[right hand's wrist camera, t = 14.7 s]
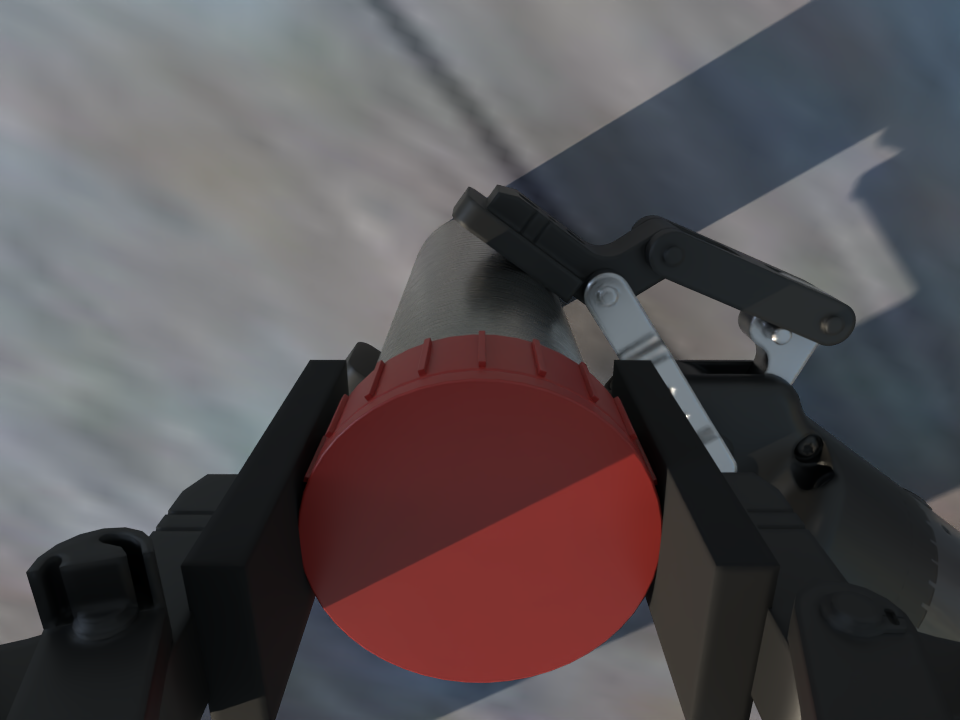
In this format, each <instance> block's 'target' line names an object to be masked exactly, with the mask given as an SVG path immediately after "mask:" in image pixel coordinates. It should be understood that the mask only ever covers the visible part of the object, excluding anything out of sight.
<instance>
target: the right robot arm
mask: <svg viewBox="0 0 960 720" xmlns="http://www.w3.org/2000/svg"><path fill="white" fill-rule="evenodd" d="M344 394H346V395H348V396H349V387H348V374H347V362H346V360H310V361H309V363H308V364H307V366H306V367H305V369H304V371H303V372H302V374H301V375H300V377H299V378H298V380H297V382H296V383H295V385H294V386H293V388H292V390H291V391H290V393H289V394H288V396H287V398H286V399H285V401H284V402H283V404H282V405H281V407H280V409H279V410H278V412H277V413H276V415H275V417H274V418H273V420H272V421H271V423H270V424H269V426H268V428H267V429H266V431H265V432H264V434H263V436H262V437H261V439H260V440H259V442H258V444H257V445H256V447H255V448H254V450H253V451H252V453H251V455H250V456H249V458H248V459H247V461H246V463H245V464H244V466H243V467H242V469H241V471H240V472H239V474H207V475H206V476H204V477H203V478H201V479H200V480H198V481H197V482H196V483H194V484H193V485H191V486H190V487H188V488H187V489H185V490H184V491H183V492H182V493H181V494H180V496H179V497H178V498H177V500H176V501H175V502H174V504H173V505H172V506H171V508H170V509H169V510H168V515H165V516H164V517H163V519H162V520H161V521H160V523H159V524H158V525H157V527H156V531H153V532H152V533H151V535H150V536H147V535H146V534H145V533H144V532H143V531H139V530H135V529H130V528H126V527H124V528H104V529H100V530H96V531H92V532H88V533H84V534H80V535H77V536H75V537H73V538H71V539H68V540H66V541H64V542H62V543H59V544H57V545H56V546H54V547H53V548H51V549H50V550H48V551H47V552H46V553H44V554H43V555H41V556H40V557H38V558H37V560H36V561H35V562H34V563H33V565H32V566H31V567H30V568H29V569H28V571H27V572H26V574H27V577H28V580H29V583H30V587H31V590H32V593H33V596H34V600H35V603H36V606H37V609H38V613H39V616H40V619H41V622H42V625H43V629H44V630H43V633H42V635H39V636H36V637H32V638H29V639H25V640H20V641H16V642H11V643H7V644H3V645H0V720H200V719H201V717H202V715H203V713H204V710H205V708H206V706H207V704H208V705H209V709H210V714H211V719H212V720H275V719H276V716H277V712H278V709H279V706H280V703H281V700H282V697H283V694H284V691H285V688H286V685H287V682H288V679H289V676H290V672H291V669H292V666H293V663H294V660H295V657H296V654H297V651H298V648H299V645H300V642H301V639H302V636H303V633H304V629H305V626H306V623H307V620H308V617H309V614H310V611H311V608H312V605H313V602H314V599H315V594H314V592H313V591H312V589H311V586H310V584H309V581H308V579H307V577H306V574H305V572H304V568H303V561H302V554H301V545H300V537H299V527H298V516H299V509H300V504H301V500H302V495H303V491H304V489H305V486H306V484H307V483H306V482H303V480H304V477H305V475H306V472H307V470H308V468H309V466H310V464H311V461H312V459H313V457H314V455H315V453H316V450H317V448H318V446H319V444H320V442H321V439H322V437H323V436H325V434H326V432H327V429H328V427H329V425H330V423H331V421H332V418H333V416H334V414H335V412H336V409H337V407H338V405H339V403H340V401H341V398H342V397H343V395H344ZM617 396H618V397H619V399H620V400H621V402H622V404H623V407H624V409H625V411H626V413H627V415H628V418H629V420H630V422H631V424H632V426H633V429H634V431H635V433H636V435H637V438H638V439H639V441H640V443H641V445H642V448H643V450H644V452H645V454H646V456H647V459H648V461H649V463H650V465H651V467H652V470H653V472H654V474H655V476H656V478H657V482H658V485H655V487H656V490H657V493H658V496H659V500H660V506H661V511H662V517H663V523H662V534H661V543H660V551H659V559H658V566H657V570H656V573H655V576H654V579H653V581H652V583H651V585H650V587H649V589H648V592H647V594H646V596H645V597H646V600H647V603H648V606H649V609H650V612H651V615H652V618H653V621H654V624H655V627H656V630H657V633H658V637H659V640H660V643H661V646H662V649H663V652H664V655H665V658H666V661H667V664H668V667H669V670H670V673H671V677H672V680H673V683H674V686H675V689H676V692H677V695H678V698H679V701H680V704H681V707H682V710H683V713H684V716H685V720H749V718H750V713H751V708H752V703H753V701H754V703H755V705H756V707H757V710H758V712H759V714H760V716H761V719H762V720H960V642H957V641H953V640H949V639H944V638H940V637H935V636H932V635H928V634H925V633H921V632H918V631H917V629H916V627H915V626H914V625H913V623H912V622H911V620H910V619H909V617H908V616H907V614H906V613H905V612H904V611H902V610H901V609H900V608H899V607H897V606H896V605H895V604H894V603H892V602H891V601H890V600H889V599H887V598H885V597H883V596H881V595H879V594H877V593H875V592H873V591H871V590H869V589H867V588H864V587H861V586H857V585H854V584H850V583H848V582H847V580H846V579H845V578H844V576H843V575H842V574H841V572H840V571H839V570H838V568H837V567H836V565H835V564H834V563H833V561H832V560H831V559H830V557H829V556H828V555H827V553H826V552H825V551H824V549H823V548H822V547H821V545H820V544H819V543H818V541H817V540H816V539H815V537H814V536H813V535H812V533H811V532H810V531H809V529H805V524H804V523H803V521H802V520H801V519H800V517H799V516H798V515H797V513H796V512H793V508H792V507H791V505H790V504H789V503H788V501H787V500H786V499H785V497H784V496H783V495H782V493H781V492H780V491H779V489H778V488H776V487H775V486H773V485H772V484H770V483H769V482H767V481H766V480H764V479H763V478H761V477H760V476H758V475H757V474H755V473H754V472H721V471H720V469H719V468H718V466H717V465H716V463H715V461H714V460H713V458H712V457H711V455H710V453H709V452H708V450H707V449H706V447H705V446H704V444H703V442H702V441H701V439H700V438H699V436H698V434H697V433H696V431H695V430H694V428H693V427H692V425H691V423H690V422H689V420H688V419H687V417H686V415H685V414H684V412H683V411H682V409H681V407H680V406H679V404H678V403H677V401H676V400H675V398H674V396H673V395H672V393H671V392H670V390H669V388H668V387H667V385H666V384H665V382H664V381H663V379H662V377H661V376H660V374H659V373H658V371H657V369H656V368H655V366H654V365H653V363H652V361H651V360H614V371H613V383H612V397H613V399H614V398H615V397H617Z"/></svg>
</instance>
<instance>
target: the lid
mask: <svg viewBox="0 0 960 720" xmlns="http://www.w3.org/2000/svg"><path fill="white" fill-rule="evenodd" d="M303 482H306V483H307V484H306V486H305V489H304V491H303V495H302V500H301V504H300V509H299V516H298V527H299V537H300V545H301V554H302V561H303V568H304V572H305V574H306V577H307V579H308V581H309V584H310V586H311V589H312V591H313V592H314V594H315V596H316V597H317V599H318V601H319V602H320V604H321V606H322V607H323V609H324V610H325V611H326V612H327V614H328V615H329V616H330V617H331V619H332V620H333V621H334V622H335V623H336V624H337V625H338V626H339V627H340V628H341V629H342V630H343V631H344V632H345V633H346V634H347V635H348V636H349V637H350V638H352V639H353V640H354V641H356V642H357V643H358V644H360V645H361V646H362V647H364V648H365V649H366V650H368V651H370V652H371V653H373V654H375V655H376V656H378V657H380V658H382V659H383V660H385V661H387V662H390V663H392V664H394V665H396V666H399V667H401V668H403V669H406V670H409V671H412V672H415V673H418V674H421V675H425V676H429V677H434V678H438V679H443V680H450V681H459V682H478V683H489V682H502V681H511V680H517V679H522V678H528V677H532V676H535V675H539V674H542V673H546V672H549V671H552V670H555V669H557V668H559V667H562V666H564V665H567V664H569V663H571V662H573V661H575V660H577V659H579V658H581V657H583V656H584V655H586V654H588V653H590V652H591V651H593V650H594V649H595V648H597V647H598V646H600V645H601V644H603V643H604V642H606V641H607V640H608V639H609V638H610V637H611V636H612V635H613V634H615V633H616V632H617V631H618V630H619V629H620V628H621V627H622V626H623V625H624V624H625V623H626V622H627V620H628V619H629V618H630V617H631V616H632V615H633V614H634V612H635V611H636V609H637V608H638V606H639V605H640V603H641V602H642V600H643V599H644V597H645V596H646V594H647V592H648V589H649V587H650V585H651V583H652V581H653V579H654V576H655V573H656V570H657V566H658V559H659V551H660V543H661V534H662V523H663V517H662V511H661V506H660V500H659V496H658V493H657V490H656V487H655V485H658V482H657V478H656V476H655V474H654V472H653V470H652V467H651V465H650V463H649V461H648V459H647V456H646V454H645V452H644V450H643V448H642V445H641V443H640V441H639V439H638V438H637V435H636V433H635V431H634V429H633V426H632V424H631V422H630V420H629V418H628V415H627V413H626V411H625V409H624V407H623V404H622V402H621V400H620V399H619V397H618V396H617V397H615V398H614V399H613V397H612V396H611V394H610V393H609V392H608V390H607V389H606V388H605V387H604V386H603V385H602V384H601V383H600V382H599V381H598V380H597V379H596V378H595V377H594V376H593V375H592V374H590V373H589V371H588V368H587V365H586V364H585V363H583V362H581V363H580V364H578V363H576V362H574V361H573V360H571V359H569V358H567V357H566V356H564V355H562V354H561V353H559V352H557V351H554V350H552V349H549V348H547V347H545V346H542V345H540V341H539V340H537V339H533V341H532V342H530V341H526V340H522V339H519V338H513V337H506V336H499V335H485V331H479V335H475V334H472V335H463V336H453V337H447V338H443V339H439V340H434V341H431V338H427V339H424V343H423V344H422V345H419V346H416V347H413V348H411V349H408V350H406V351H404V352H402V353H400V354H399V355H397V356H395V357H393V358H391V359H389V360H388V361H386V362H385V363H384V362H383V361H382V360H380V361H379V362H377V364H376V367H375V369H374V371H372V372H371V373H370V374H369V375H368V376H367V377H366V378H365V379H364V380H363V381H362V382H361V383H359V384H358V385H357V387H356V388H355V389H354V390H353V392H352V393H351V394H350V395H349V396H348V395H346V394H344V395H343V397H342V398H341V401H340V403H339V405H338V407H337V409H336V412H335V414H334V416H333V418H332V421H331V423H330V425H329V427H328V429H327V432H326V434H325V436H323V437H322V439H321V442H320V444H319V446H318V448H317V450H316V453H315V455H314V457H313V459H312V461H311V464H310V466H309V468H308V470H307V472H306V475H305V477H304V480H303Z"/></svg>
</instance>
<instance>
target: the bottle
mask: <svg viewBox="0 0 960 720" xmlns="http://www.w3.org/2000/svg"><path fill="white" fill-rule="evenodd" d="M479 331H485V335H499V336H506V337H513V338H519V339H522V340H526V341H530V342H532V341H533V339H537V340H539V341H540V345H542V346H545V347H547V348H549V349H552V350H554V351H557V352H559V353H561V354H562V355H564V356H566V357H567V358H569V359H571V360H573V361H574V362H576V363H578V364H580V363H581V362H583V360H582V357H581V355H580V352H579V349H578V347H577V344H576V342H575V339H574V336H573V334H572V331H571V328H570V326H569V323H568V321H567V318H566V315H565V313H564V310H563V307H562V305H561V302H560V299H559V297H558V296H557V295H556V294H554V293H553V292H552V291H550V290H549V289H547V288H546V287H545V286H543V285H542V284H541V283H540V282H539V281H537V280H536V279H534V278H533V277H531V276H530V275H528V274H527V273H525V272H524V271H523V270H521V269H520V268H519V267H517V266H516V265H514V264H513V263H512V262H510V261H509V260H508V259H506V258H505V257H503V256H502V255H501V254H499V253H498V252H497V251H495V250H494V249H492V248H491V247H490V246H488V245H487V244H486V243H484V242H483V241H482V240H480V239H479V238H477V237H476V236H475V235H473V234H472V233H471V232H469V231H468V230H466V229H465V228H464V227H463V226H461V225H460V224H459V223H458V222H457V221H456V220H455V219H453V220H451V221H449V222H447V223H445V224H444V225H442V226H441V227H439V228H438V229H437V230H436V231H434V232H433V233H432V234H431V235H430V237H429V238H428V239H427V240H426V241H425V243H424V244H423V246H422V248H421V250H420V252H419V254H418V256H417V258H416V261H415V264H414V266H413V269H412V272H411V274H410V277H409V280H408V282H407V285H406V287H405V290H404V293H403V295H402V298H401V301H400V303H399V306H398V309H397V311H396V314H395V316H394V319H393V322H392V324H391V327H390V330H389V332H388V335H387V338H386V340H385V343H384V346H383V348H382V351H381V353H380V356H379V359H378V361H377V362H379V361H380V360H382V361H383V362H384V363H385V362H386V361H388V360H389V359H391V358H393V357H395V356H397V355H399V354H400V353H402V352H404V351H406V350H408V349H411V348H413V347H416V346H419V345H422V344H423V343H424V339H427V338H431V341H434V340H439V339H443V338H447V337H453V336H463V335H472V334H475V335H479Z"/></svg>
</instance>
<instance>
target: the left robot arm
mask: <svg viewBox="0 0 960 720" xmlns="http://www.w3.org/2000/svg"><path fill="white" fill-rule="evenodd" d="M452 216H453V218H454V219H455V220H456V221H457V222H458V223H459V224H460V225H461V226H463V227H464V228H465V229H466V230H468V231H469V232H471V233H472V234H473V235H475V236H476V237H477V238H479V239H480V240H482V241H483V242H484V243H486V244H487V245H488V246H490V247H491V248H492V249H494V250H495V251H497V252H498V253H499V254H501V255H502V256H503V257H505V258H506V259H508V260H509V261H510V262H512V263H513V264H514V265H516V266H517V267H519V268H520V269H521V270H523V271H524V272H525V273H527V274H528V275H530V276H531V277H533V278H534V279H536V280H537V281H539V282H540V283H541V284H542V285H543V286H545V287H546V288H547V289H549V290H550V291H552V292H553V293H554V294H556V295H557V296H558V297H560V298H561V299H563V300H564V301H565V302H568V301H569V300H570V299H571V297H572V296H574V297H575V298H577V299H578V300H580V301H581V302H582V303H584V304H585V305H586V306H587V308H588V310H589V311H590V313H591V314H592V316H593V318H594V319H595V321H596V322H597V324H598V326H599V327H600V329H601V330H602V332H603V334H604V335H605V337H606V338H607V340H608V341H609V343H610V345H611V346H612V348H613V349H614V351H615V353H616V354H617V356H618V357H619V359H620V360H651V361H652V363H653V365H654V366H655V368H656V369H657V371H658V373H659V374H660V376H661V377H662V379H663V381H664V382H665V384H666V385H667V387H668V388H669V390H670V392H671V393H672V395H673V396H674V398H675V400H676V401H677V403H678V404H679V406H680V407H681V409H682V411H683V412H684V414H685V415H686V417H687V419H688V420H689V422H690V423H691V425H692V427H693V428H694V430H695V431H696V433H697V434H698V436H699V438H700V439H701V441H702V442H703V444H704V446H705V447H706V449H707V450H708V452H709V453H710V455H711V457H712V458H713V460H714V461H715V463H716V465H717V466H718V468H719V469H720V471H721V472H754V473H755V474H757V475H758V476H760V477H761V478H763V479H764V480H766V481H767V482H769V483H770V484H772V485H773V486H775V487H776V488H778V489H779V491H780V492H781V493H782V495H783V496H784V497H785V499H786V500H787V501H788V503H789V504H790V505H791V507H792V508H793V512H796V513H797V515H798V516H799V517H800V519H801V520H802V521H803V523H804V524H805V529H809V531H810V532H811V533H812V535H813V536H814V537H815V539H816V540H817V541H818V543H819V544H820V545H821V547H822V548H823V549H824V551H825V552H826V553H827V555H828V556H829V557H830V559H831V560H832V561H833V563H834V564H835V565H836V567H837V568H838V570H839V571H840V572H841V574H842V575H843V576H844V578H845V579H846V580H847V582H848V583H850V584H854V585H857V586H861V587H864V588H867V589H869V590H871V591H873V592H875V593H877V594H879V595H881V596H883V597H885V598H887V599H889V600H890V601H891V602H892V603H894V604H895V605H896V606H897V607H899V608H900V609H901V610H902V611H904V612H905V613H906V614H907V616H908V617H909V619H910V620H911V622H912V623H913V625H914V626H915V627H916V629H917V631H918V632H921V633H925V634H928V635H932V636H935V637H940V638H944V639H949V640H953V641H957V642H960V532H959V531H958V530H956V529H955V528H954V527H953V526H951V525H950V524H949V523H947V522H946V521H945V520H943V519H942V518H941V517H939V516H938V515H937V514H936V513H934V512H933V511H932V508H931V507H930V506H929V505H927V504H926V502H925V501H924V500H923V499H921V498H920V497H918V496H917V495H915V494H914V493H912V492H910V491H908V490H906V489H904V488H901V487H900V486H899V485H897V484H896V483H895V482H893V481H892V480H891V479H889V478H888V477H887V476H885V475H884V474H883V473H881V472H880V471H879V470H877V469H876V468H875V467H873V466H872V465H871V464H869V463H868V462H867V461H865V460H864V459H863V458H861V457H860V456H859V455H857V454H856V453H855V452H853V451H852V450H851V449H849V448H848V447H847V446H846V445H844V444H843V443H842V442H840V441H839V440H838V439H836V438H835V437H834V436H832V435H831V434H830V433H828V432H827V431H826V430H824V429H823V428H822V427H820V426H819V425H818V424H816V423H815V422H814V421H812V420H811V419H810V418H808V417H807V416H806V415H805V414H804V411H803V409H802V407H801V403H800V399H799V396H798V394H797V392H796V391H795V389H794V388H793V387H792V384H793V383H794V381H795V380H796V378H797V377H798V375H799V374H800V372H801V370H802V369H803V367H804V366H805V364H806V363H807V361H808V360H809V358H810V356H811V355H812V353H813V352H814V350H815V349H816V347H817V346H818V344H821V345H825V346H831V345H836V344H839V343H841V342H842V341H844V340H845V339H846V338H848V337H849V335H850V334H851V333H852V331H853V329H854V327H855V322H856V317H855V313H854V311H853V310H852V309H851V308H850V307H849V306H848V305H846V304H844V303H843V302H841V301H839V300H838V299H836V298H834V297H832V296H831V295H829V294H827V293H826V292H824V291H822V290H820V289H819V288H817V287H815V286H814V285H812V284H810V283H808V282H807V281H805V280H803V279H801V278H798V277H796V276H794V275H792V274H789V273H787V272H785V271H782V270H780V269H778V268H776V267H773V266H771V265H769V264H767V263H764V262H762V261H760V260H757V259H755V258H753V257H751V256H748V255H746V254H744V253H742V252H739V251H737V250H735V249H732V248H730V247H728V246H726V245H723V244H721V243H719V242H717V241H714V240H712V239H710V238H707V237H705V236H703V235H701V234H698V233H696V232H694V231H692V230H689V229H687V228H685V227H682V226H680V225H678V224H676V223H673V222H671V221H669V220H667V219H664V218H662V217H659V216H655V215H650V216H646V217H643V218H641V219H640V220H638V221H637V222H636V223H635V224H634V226H633V228H632V230H631V231H630V232H628V233H627V234H625V235H624V236H622V237H620V238H619V239H617V240H616V241H614V242H612V243H609V244H606V245H593V244H589V243H587V242H585V241H584V240H582V239H581V238H580V237H578V236H577V235H576V234H574V233H573V232H572V231H570V230H569V229H568V228H566V227H565V226H564V225H562V224H561V223H560V222H558V221H557V220H556V219H554V218H553V217H552V216H551V215H549V214H548V213H546V212H545V211H544V210H543V209H541V208H540V207H539V206H537V205H536V204H535V203H533V202H532V201H531V200H529V199H528V198H527V197H526V196H524V195H523V194H522V193H520V192H519V191H518V190H516V189H512V188H508V187H504V186H501V185H497V186H496V187H495V189H494V190H493V191H492V193H491V194H490V195H489V197H488V198H486V197H485V196H483V195H482V194H481V193H479V192H478V191H476V190H475V189H473V188H471V187H468V188H467V190H466V191H465V193H464V194H463V195H462V197H461V198H460V200H459V201H458V202H457V204H456V205H455V207H454V209H453V214H452ZM665 278H666V279H668V280H670V281H673V282H675V283H677V284H680V285H682V286H684V287H687V288H689V289H691V290H694V291H696V292H698V293H701V294H703V295H705V296H708V297H710V298H712V299H715V300H717V301H720V302H722V303H724V304H727V305H729V306H731V307H734V308H736V309H738V310H741V311H740V314H739V318H738V323H739V327H740V329H741V330H742V331H743V332H744V333H745V334H746V335H747V336H748V337H749V338H750V339H751V340H752V341H753V342H754V343H755V344H756V356H755V359H754V361H753V360H674V358H673V356H672V355H671V353H670V352H669V350H668V348H667V347H666V345H665V344H664V342H663V341H662V339H661V337H660V336H659V334H658V333H657V331H656V329H655V328H654V326H653V324H652V323H651V321H650V319H649V318H648V316H647V314H646V313H645V311H644V309H643V308H642V306H641V304H640V303H639V301H638V299H637V298H636V296H637V295H639V294H640V293H642V292H644V291H645V290H647V289H648V288H650V287H652V286H653V285H655V284H657V283H658V282H660V281H662V280H663V279H665ZM380 353H381V352H380V351H379V350H377V349H376V348H374V347H373V346H371V345H369V344H367V343H364V342H358V343H357V344H356V346H355V347H354V348H353V350H352V351H351V353H350V354H349V355H348V357H347V358H346V362H347V374H348V387H349V395H350V394H351V393H352V392H353V390H354V389H355V388H356V387H357V385H358V384H359V383H361V382H362V381H363V380H364V379H365V378H366V377H367V376H368V375H369V374H370V373H371V372H372V371H374V369H375V367H376V364H377V361H378V359H379V356H380ZM612 383H613V376H612V377H611V378H610V380H609V381H608V382H607V383H606V384H605V386H604V387H605V388H606V389H607V390H608V392H609V393H610V394H611V396H612Z"/></svg>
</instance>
